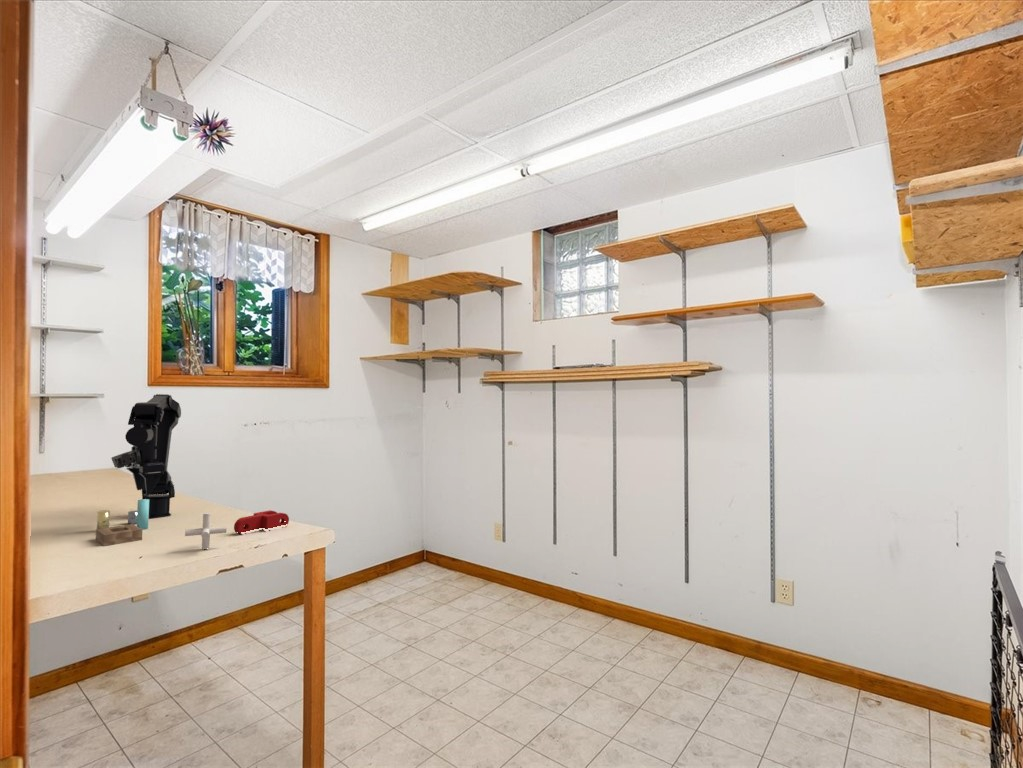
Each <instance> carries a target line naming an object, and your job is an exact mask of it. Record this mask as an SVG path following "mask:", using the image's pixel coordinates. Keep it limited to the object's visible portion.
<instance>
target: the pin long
mask: <svg viewBox="0 0 1023 768" xmlns="http://www.w3.org/2000/svg"><path fill="white" fill-rule="evenodd" d="M136 510H137V524H136V526H137V527H139V528H141V529H142V531H143V530H149V519H150V518H149V499H142V498H141V499H138V500H137V509H136Z"/></svg>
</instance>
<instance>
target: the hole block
mask: <svg viewBox="0 0 1023 768" xmlns="http://www.w3.org/2000/svg"><path fill="white" fill-rule="evenodd" d="M142 540H143V530H142V529H141V528H139V527H137V525H136V524H135V525H134V524H130V525H128V524H124V525H117V526H109V528H102V529H97V528H96V529H95V541H96V542H98V543H100V544H101V545H103V547H106V546H112V545H119V544H125V543H130V542H138V541H142Z"/></svg>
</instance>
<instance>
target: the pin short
mask: <svg viewBox="0 0 1023 768" xmlns="http://www.w3.org/2000/svg"><path fill="white" fill-rule="evenodd" d="M130 524H134V525H135V526H136V525H137V509H136V510H129V511H128V512H127V525H130Z"/></svg>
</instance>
